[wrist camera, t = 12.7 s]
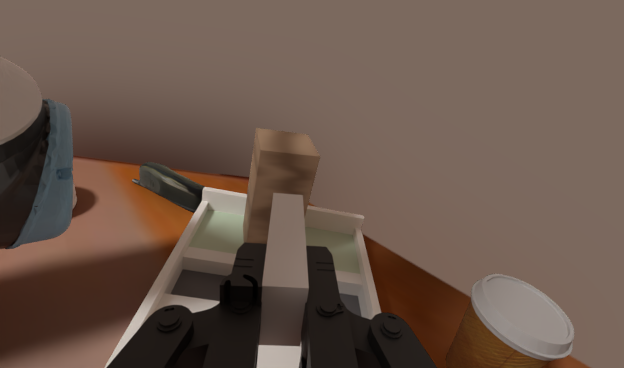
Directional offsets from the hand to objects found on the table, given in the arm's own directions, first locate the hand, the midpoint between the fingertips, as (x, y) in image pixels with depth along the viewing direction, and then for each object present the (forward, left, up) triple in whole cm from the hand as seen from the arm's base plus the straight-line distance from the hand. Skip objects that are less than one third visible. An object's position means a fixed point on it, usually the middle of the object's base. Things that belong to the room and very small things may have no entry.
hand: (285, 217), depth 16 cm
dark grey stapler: (-19, +34, -24) cm, 46 cm away
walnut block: (-1, +23, -21) cm, 31 cm away
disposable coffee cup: (+26, +8, -23) cm, 36 cm away
